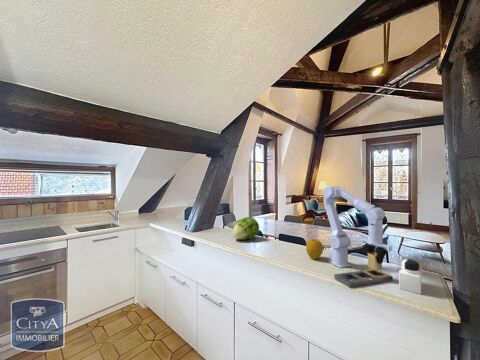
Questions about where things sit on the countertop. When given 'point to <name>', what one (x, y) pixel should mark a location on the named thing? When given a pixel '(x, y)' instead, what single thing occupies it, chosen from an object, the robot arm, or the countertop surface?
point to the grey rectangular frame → (360, 281)
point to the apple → (314, 248)
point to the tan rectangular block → (373, 262)
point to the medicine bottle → (410, 276)
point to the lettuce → (245, 228)
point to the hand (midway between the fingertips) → (375, 261)
